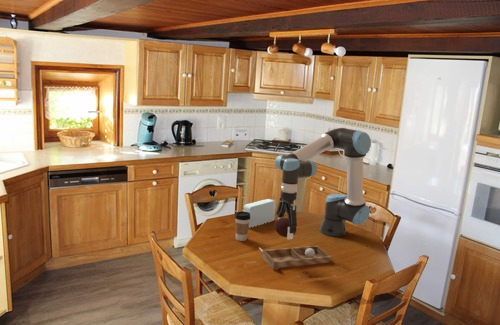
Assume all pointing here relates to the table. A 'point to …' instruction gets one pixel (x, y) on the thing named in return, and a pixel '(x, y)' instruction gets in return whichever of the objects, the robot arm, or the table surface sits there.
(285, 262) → the divided wooden tray
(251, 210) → the white rounded block
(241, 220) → the coffee cup
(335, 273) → the table surface
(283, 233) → the dark brown ovoid
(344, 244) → the table surface
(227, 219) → the table surface
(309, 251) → the ball
